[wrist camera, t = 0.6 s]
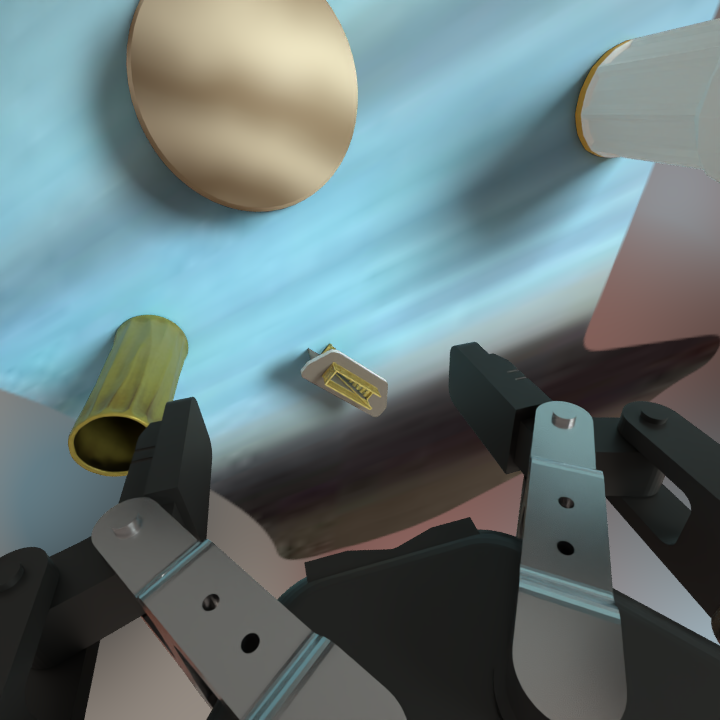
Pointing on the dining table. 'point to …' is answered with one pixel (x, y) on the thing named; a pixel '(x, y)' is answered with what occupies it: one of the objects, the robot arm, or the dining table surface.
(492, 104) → the dining table surface
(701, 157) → the cup
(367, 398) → the platform
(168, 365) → the vase
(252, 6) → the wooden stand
